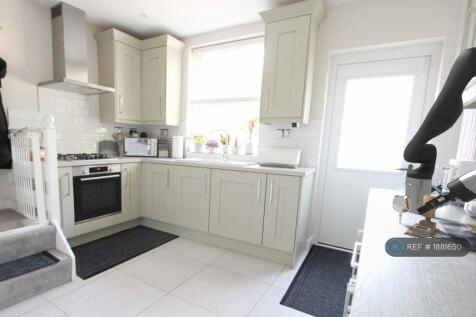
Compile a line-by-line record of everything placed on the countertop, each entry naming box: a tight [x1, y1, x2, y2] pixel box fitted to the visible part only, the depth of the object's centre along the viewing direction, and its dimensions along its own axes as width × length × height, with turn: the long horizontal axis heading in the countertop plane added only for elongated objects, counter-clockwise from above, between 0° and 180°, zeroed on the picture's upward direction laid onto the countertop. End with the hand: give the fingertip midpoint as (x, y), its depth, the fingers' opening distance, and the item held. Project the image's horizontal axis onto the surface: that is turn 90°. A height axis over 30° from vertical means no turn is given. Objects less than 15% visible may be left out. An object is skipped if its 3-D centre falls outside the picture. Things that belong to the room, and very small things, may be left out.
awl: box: [421, 195, 437, 224], centre depth 80 cm, size 4×4×12 cm
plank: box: [403, 218, 441, 239], centre depth 77 cm, size 18×7×4 cm, turn 130°
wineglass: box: [391, 194, 411, 224], centre depth 85 cm, size 6×6×12 cm
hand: (423, 210), depth 81 cm, fingers open, 6 cm apart
